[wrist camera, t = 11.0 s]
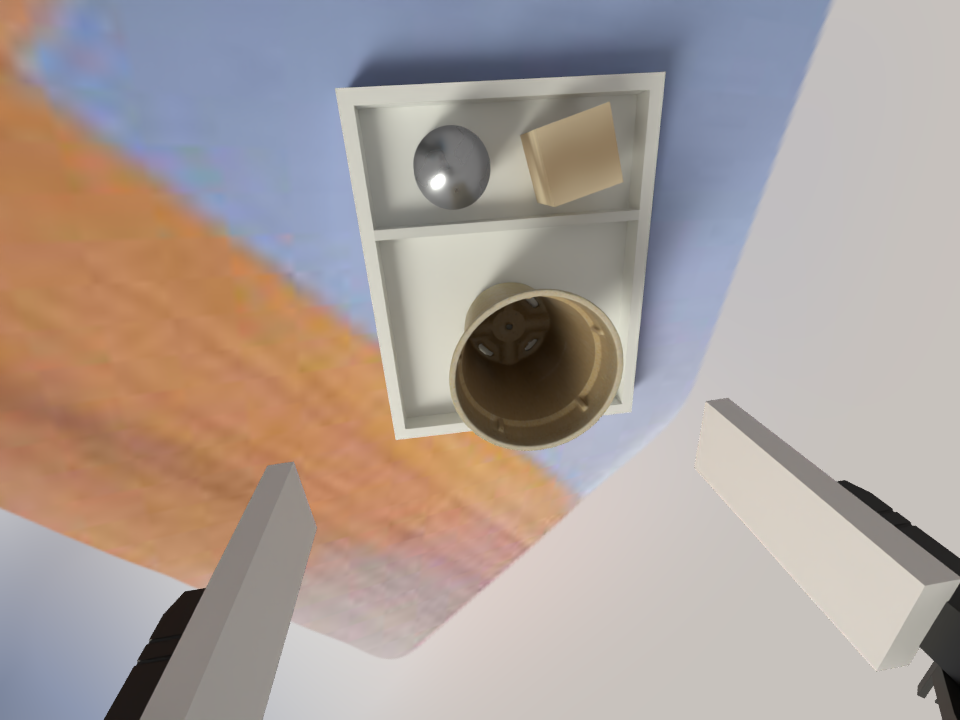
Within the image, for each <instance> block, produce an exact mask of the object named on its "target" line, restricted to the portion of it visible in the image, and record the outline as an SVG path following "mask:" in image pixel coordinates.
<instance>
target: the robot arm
mask: <svg viewBox="0 0 960 720" xmlns="http://www.w3.org/2000/svg"><path fill="white" fill-rule="evenodd" d="M694 468H695V469H696V470H697V471H698V473H699V474H700V475H701V476H702V477H703V478H704V479H705V480H706V482H707V483H708V484H709V485H710V486H711V487H712V488H713V489H714V490H715V492H716V493H717V494H718V495H719V496H720V497H721V498H722V499H723V501H724V502H725V503H726V504H727V505H728V506H729V507H730V508H731V509H732V511H733V512H734V513H735V514H736V515H737V516H738V517H739V518H740V520H741V521H742V522H743V523H744V524H745V525H746V526H747V527H748V529H749V530H750V531H751V532H752V533H753V534H754V535H755V536H756V538H758V540H759V541H760V542H761V543H762V544H763V545H764V546H765V547H766V549H767V550H768V551H769V552H770V553H771V554H772V555H773V557H774V558H775V559H776V560H777V561H778V562H779V563H780V564H781V566H782V567H783V568H784V569H785V570H786V571H787V572H788V573H789V574H790V576H791V577H793V579H794V580H795V581H796V582H797V583H798V584H799V586H800V587H801V588H802V589H803V590H804V591H805V592H806V593H807V595H808V596H809V597H810V598H811V599H812V600H813V601H814V602H815V604H816V605H817V606H818V607H819V608H820V609H821V610H822V611H823V613H824V614H825V615H826V616H827V617H828V618H829V619H830V620H831V622H832V623H833V624H834V625H835V626H836V627H837V628H838V629H839V631H840V632H841V633H842V634H843V635H844V636H845V637H846V638H847V639H848V640H849V642H850V643H851V644H852V645H853V646H854V647H855V648H856V649H857V651H858V652H859V653H860V654H861V655H862V656H863V657H864V659H865V660H866V661H867V662H868V663H869V664H870V665H871V666H872V667H873V669H874V670H875V671H876V672H877V671H882V670H887V669H892V668H897V667H902V666H906V665H909V664H910V663H911V661H912V659H913V658H914V656H915V654H916V653H917V651H918V650H919V648H921V649H923V651H925V653H927V654H928V655H929V656H930V657H931V658H932V659H933V660H934V662H933V664H932V665H931V667H930V668H929V670H928V671H927V673H926V674H925V676H924V677H923V679H922V680H921V682H920V683H919V685H918V692H917V695H918V696H920V697H923V698H925V697H926V696H927V694H928V692H929V691H930V690H931V688H932V687H933V685H934V689H935V692H936V696H937V699H936V700H935V703H937V704H939V708H940V712H941V716H942V720H960V558H958V557H957V556H956V555H954V554H953V553H952V552H951V551H949V550H948V549H946V548H945V547H944V546H942V545H941V544H940V543H938V542H937V541H936V540H934V539H933V538H931V537H930V536H929V535H927V534H926V533H925V532H923V531H922V530H921V529H919V528H918V527H917V526H912V525H911V522H910V521H908V520H907V519H905V518H904V517H903V516H901V515H900V514H899V513H898V512H893V509H892V508H891V507H889V506H888V505H887V504H885V503H884V502H882V501H881V500H880V499H878V498H877V497H876V496H874V495H873V494H872V493H870V492H868V491H866V490H864V489H862V488H860V487H858V486H855V485H853V484H852V483H850V482H848V481H845V480H844V481H838V482H836V481H835V480H834V479H832V478H831V477H830V476H828V475H827V474H826V473H824V472H823V471H822V470H821V469H819V468H818V467H817V466H815V465H814V464H813V463H812V462H810V461H809V460H808V459H806V458H805V457H804V456H803V455H801V454H800V453H799V452H797V451H796V450H795V449H793V448H792V447H791V446H790V445H788V444H787V443H785V442H784V441H783V440H782V439H780V438H779V437H778V436H777V435H775V434H774V433H773V432H771V431H770V430H769V429H767V428H766V427H765V426H763V425H762V424H761V423H759V422H758V421H757V420H756V419H754V418H753V417H752V416H751V415H749V414H748V413H747V412H745V411H744V410H743V409H741V408H740V407H739V406H737V405H736V404H735V403H734V402H732V401H731V400H730V399H729V398H724V399H718V400H711V401H706V402H705V408H704V414H703V420H702V425H701V431H700V437H699V443H698V448H697V454H696V460H695V465H694ZM316 529H317V526H316V524H315V521H314V518H313V515H312V512H311V509H310V507H309V504H308V501H307V498H306V495H305V492H304V489H303V487H302V484H301V481H300V478H299V475H298V472H297V470H296V467H295V464H294V462H288V463H282V464H275V465H268V466H267V468H266V470H265V472H264V474H263V476H262V478H261V480H260V482H259V484H258V486H257V488H256V490H255V492H254V494H253V496H252V498H251V500H250V502H249V504H248V506H247V508H246V510H245V511H244V513H243V515H242V517H241V519H240V521H239V523H238V525H237V527H236V529H235V531H234V533H233V535H232V537H231V539H230V541H229V543H228V545H227V547H226V549H225V551H224V553H223V555H222V557H221V559H220V561H219V563H218V565H217V567H216V569H215V571H214V573H213V575H212V577H211V579H210V581H209V583H208V585H207V587H206V588H203V589H197V590H191V591H185V592H184V593H183V594H182V595H181V596H180V598H178V599H177V601H176V602H175V603H174V604H173V605H172V606H171V607H170V608H169V609H168V610H167V611H166V613H164V614H163V616H162V618H161V620H160V621H159V623H158V625H157V627H156V629H155V630H154V632H153V634H152V636H151V638H150V639H149V640H150V641H149V644H147V645H146V646H145V648H144V650H143V651H142V653H141V655H140V657H139V659H138V660H137V665H136V666H134V667H133V669H132V671H131V673H130V674H129V676H128V678H127V680H126V681H125V683H124V685H123V687H122V688H121V690H120V692H119V694H118V696H117V697H116V699H115V701H114V702H113V704H112V706H111V708H110V710H109V711H108V713H107V715H106V717H105V718H104V720H263V716H264V713H265V709H266V705H267V702H268V699H269V695H270V692H271V688H272V685H273V681H274V678H275V674H276V670H277V667H278V663H279V660H280V656H281V653H282V649H283V645H284V642H285V639H286V635H287V631H288V628H289V625H290V621H291V618H292V614H293V611H294V607H295V603H296V600H297V596H298V593H299V589H300V586H301V582H302V579H303V575H304V572H305V568H306V565H307V561H308V558H309V554H310V551H311V547H312V543H313V540H314V536H315V533H316Z"/></svg>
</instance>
